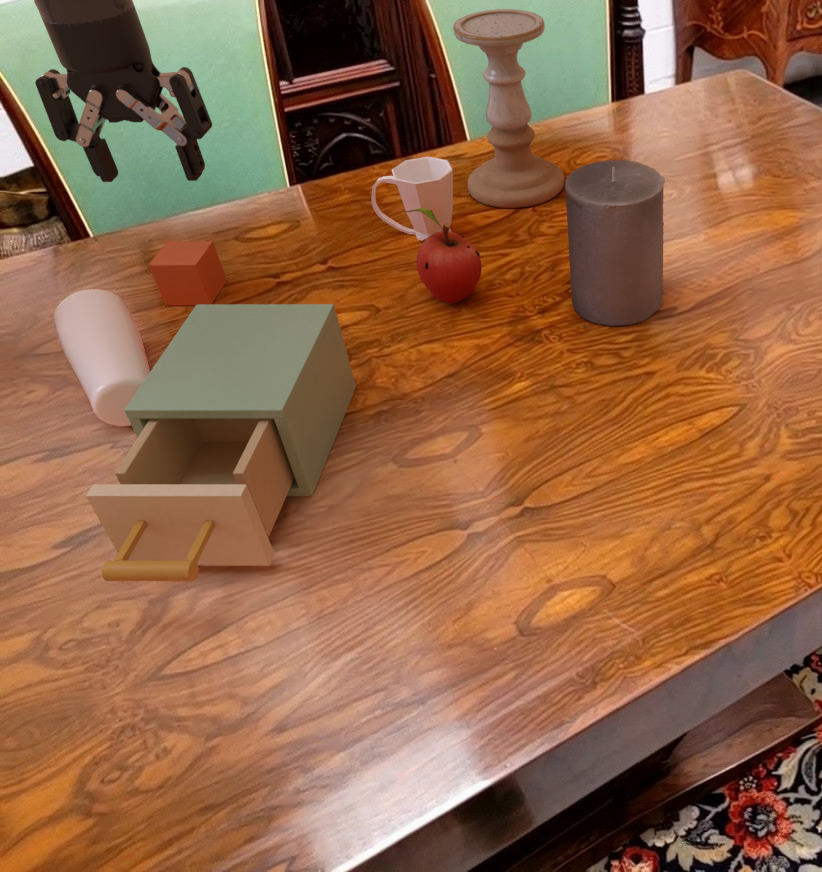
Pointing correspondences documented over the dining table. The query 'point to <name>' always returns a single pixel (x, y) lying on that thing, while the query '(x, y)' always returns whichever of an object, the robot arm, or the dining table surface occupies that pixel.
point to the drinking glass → (103, 350)
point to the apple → (448, 264)
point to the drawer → (194, 498)
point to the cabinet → (257, 377)
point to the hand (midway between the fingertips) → (153, 178)
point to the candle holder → (508, 113)
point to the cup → (421, 194)
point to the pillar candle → (615, 241)
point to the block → (188, 272)
